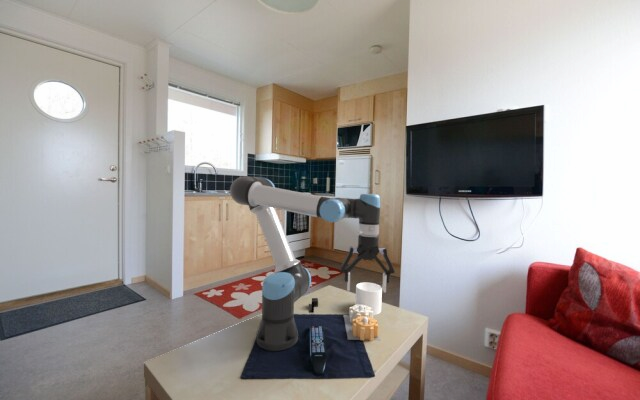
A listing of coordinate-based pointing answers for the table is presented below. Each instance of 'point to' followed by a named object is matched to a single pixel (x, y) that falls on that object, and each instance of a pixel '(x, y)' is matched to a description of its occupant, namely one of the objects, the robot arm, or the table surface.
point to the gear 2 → (365, 328)
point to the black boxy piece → (313, 305)
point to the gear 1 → (360, 312)
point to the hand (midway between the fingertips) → (366, 290)
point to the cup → (369, 296)
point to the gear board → (349, 326)
